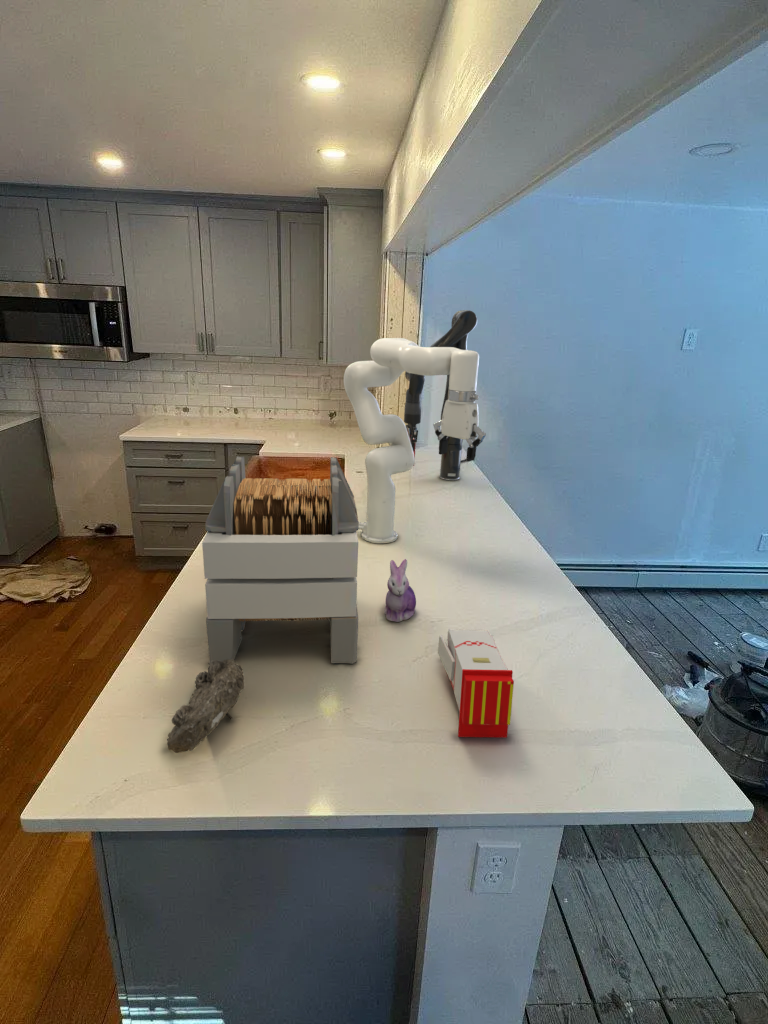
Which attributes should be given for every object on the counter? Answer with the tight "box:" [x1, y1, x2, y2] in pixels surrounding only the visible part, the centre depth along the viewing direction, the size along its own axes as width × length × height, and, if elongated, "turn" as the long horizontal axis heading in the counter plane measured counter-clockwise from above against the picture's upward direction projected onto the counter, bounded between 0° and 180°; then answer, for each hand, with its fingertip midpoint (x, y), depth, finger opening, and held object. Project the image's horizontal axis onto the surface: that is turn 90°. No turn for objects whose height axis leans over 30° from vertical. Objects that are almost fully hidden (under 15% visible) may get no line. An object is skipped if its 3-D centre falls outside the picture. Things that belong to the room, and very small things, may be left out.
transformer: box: [201, 455, 360, 666], centre depth 133 cm, size 34×33×41 cm
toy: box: [437, 628, 515, 738], centre depth 117 cm, size 12×13×30 cm
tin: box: [409, 438, 417, 467], centre depth 260 cm, size 5×5×12 cm
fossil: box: [166, 659, 245, 754], centre depth 106 cm, size 22×10×15 cm
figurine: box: [384, 558, 417, 623], centre depth 145 cm, size 9×10×15 cm
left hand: (456, 457), depth 162 cm, fingers open, 9 cm apart
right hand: (410, 449), depth 260 cm, fingers closed on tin, 4 cm apart
